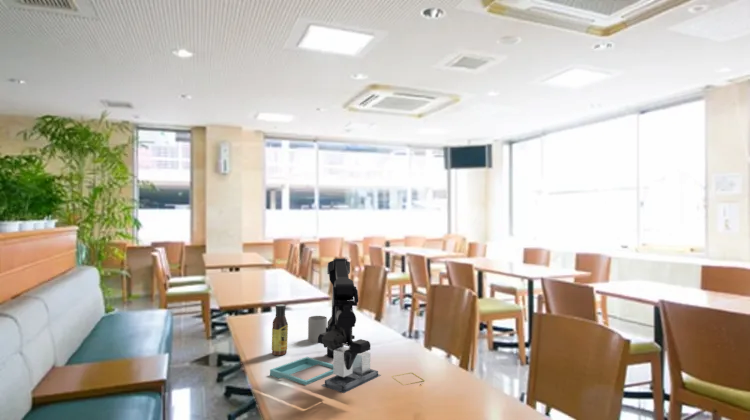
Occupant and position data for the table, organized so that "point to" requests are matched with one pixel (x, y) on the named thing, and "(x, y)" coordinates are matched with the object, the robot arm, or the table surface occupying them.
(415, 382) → the yellow square frame
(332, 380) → the dark grey tray
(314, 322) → the cup
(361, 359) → the block
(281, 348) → the sauce bottle
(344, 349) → the billet
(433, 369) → the table surface
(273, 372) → the teal tray
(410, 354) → the table surface
